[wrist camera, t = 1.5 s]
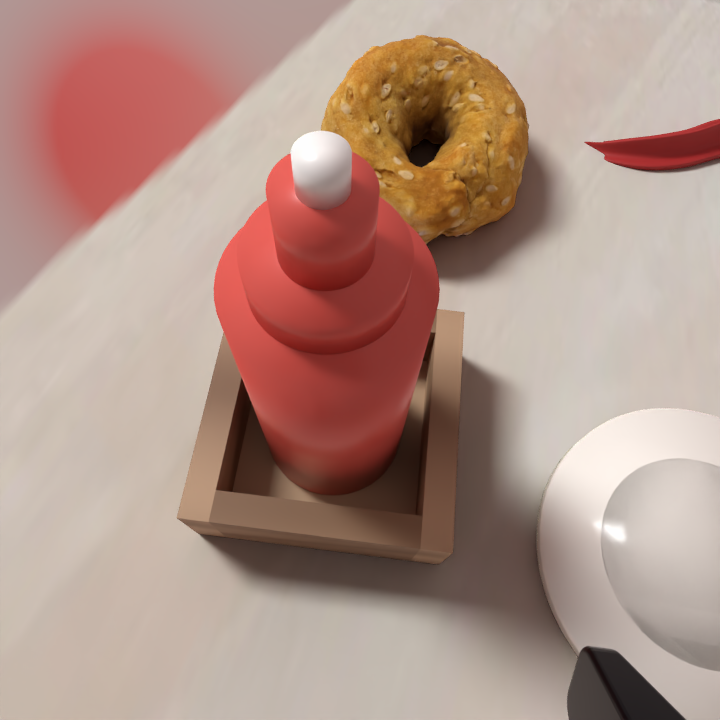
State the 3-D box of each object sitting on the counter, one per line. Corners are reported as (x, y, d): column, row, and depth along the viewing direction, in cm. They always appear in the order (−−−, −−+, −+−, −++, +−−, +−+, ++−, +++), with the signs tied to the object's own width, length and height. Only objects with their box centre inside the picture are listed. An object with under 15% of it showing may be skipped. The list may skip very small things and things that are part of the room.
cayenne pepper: (806, 144, 31) (834, 114, 29) (816, 210, 29) (847, 182, 27) (578, 102, 31) (591, 71, 30) (572, 164, 29) (586, 134, 28)
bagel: (266, 202, 28) (254, 121, 23) (390, 76, 32) (399, -13, 27) (446, 307, 25) (469, 239, 21) (554, 156, 30) (591, 74, 25)
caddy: (438, 564, 20) (452, 553, 18) (198, 533, 21) (176, 518, 18) (450, 348, 24) (464, 312, 21) (247, 325, 24) (235, 285, 22)
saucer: (916, 604, 20) (937, 603, 20) (705, 827, 17) (720, 835, 17) (679, 366, 24) (689, 358, 23) (474, 517, 21) (478, 513, 20)
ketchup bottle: (426, 446, 22) (537, 187, 9) (313, 523, 20) (265, 341, 8) (352, 347, 23) (361, 17, 11) (243, 411, 22) (114, 120, 10)
